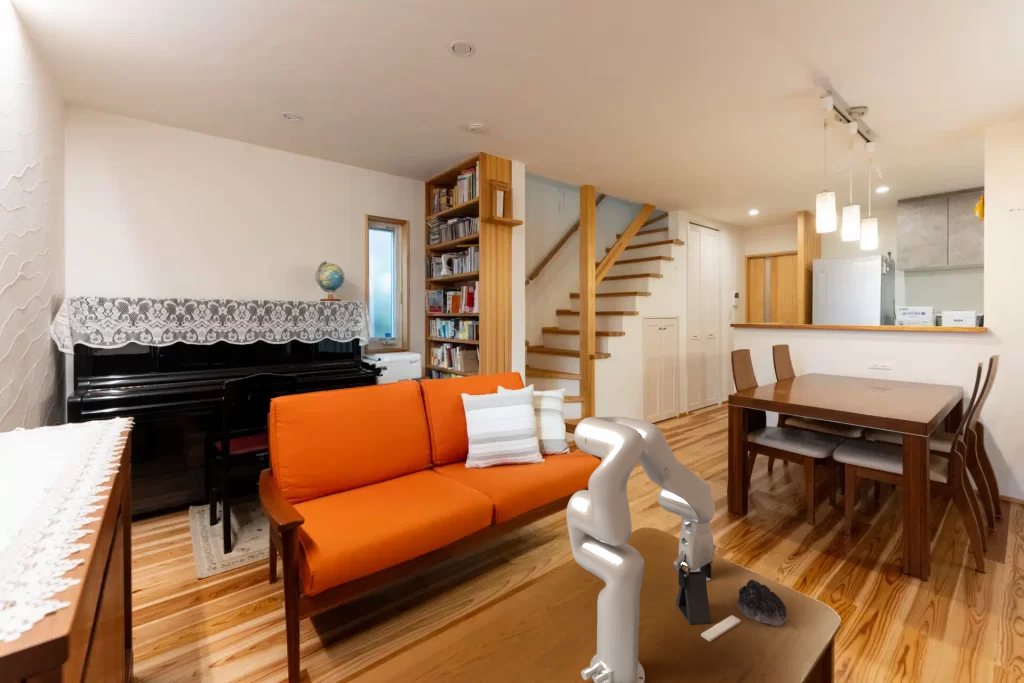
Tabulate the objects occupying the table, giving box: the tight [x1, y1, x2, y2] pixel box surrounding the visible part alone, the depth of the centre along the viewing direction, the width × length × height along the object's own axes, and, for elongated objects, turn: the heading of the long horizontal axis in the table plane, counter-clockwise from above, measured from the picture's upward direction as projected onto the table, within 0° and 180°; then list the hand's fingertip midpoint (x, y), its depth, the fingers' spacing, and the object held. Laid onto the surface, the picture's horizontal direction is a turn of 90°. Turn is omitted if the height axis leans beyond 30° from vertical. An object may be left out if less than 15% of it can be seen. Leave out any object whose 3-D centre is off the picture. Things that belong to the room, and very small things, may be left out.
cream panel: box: [700, 614, 741, 642], centre depth 120 cm, size 14×2×1 cm, turn 122°
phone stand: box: [675, 571, 712, 626], centre depth 126 cm, size 9×6×12 cm, turn 5°
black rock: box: [737, 579, 788, 627], centre depth 127 cm, size 13×14×10 cm
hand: (694, 581), depth 127 cm, fingers open, 9 cm apart
